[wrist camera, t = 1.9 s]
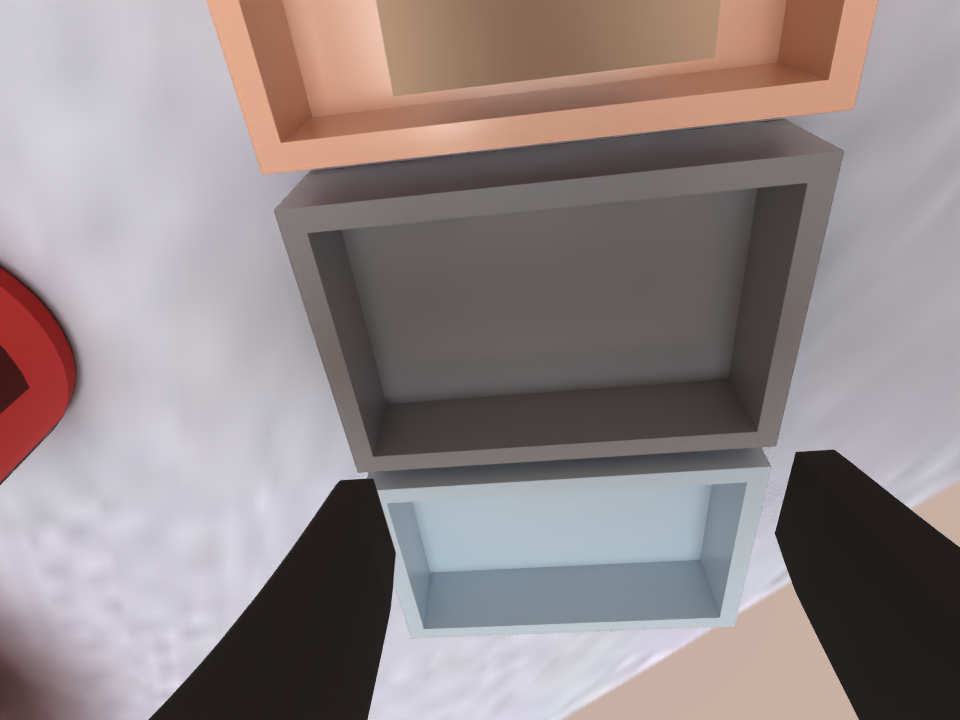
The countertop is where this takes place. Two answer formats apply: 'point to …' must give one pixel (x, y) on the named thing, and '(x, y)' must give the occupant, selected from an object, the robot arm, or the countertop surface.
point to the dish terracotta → (519, 83)
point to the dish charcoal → (564, 294)
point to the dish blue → (574, 542)
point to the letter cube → (536, 39)
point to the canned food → (29, 373)
